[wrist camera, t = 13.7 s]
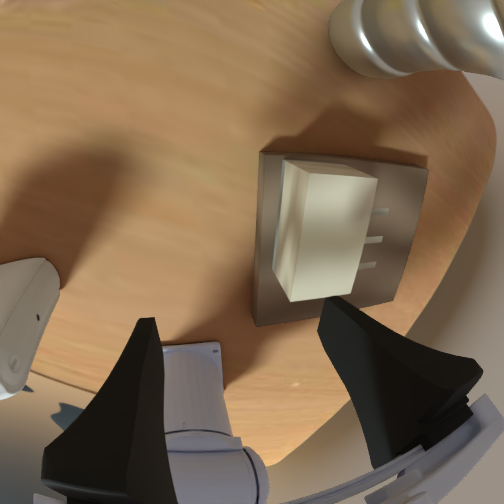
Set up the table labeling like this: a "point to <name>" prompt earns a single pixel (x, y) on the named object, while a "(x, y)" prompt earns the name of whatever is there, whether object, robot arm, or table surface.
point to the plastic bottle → (419, 36)
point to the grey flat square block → (375, 246)
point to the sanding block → (321, 227)
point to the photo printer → (23, 317)
